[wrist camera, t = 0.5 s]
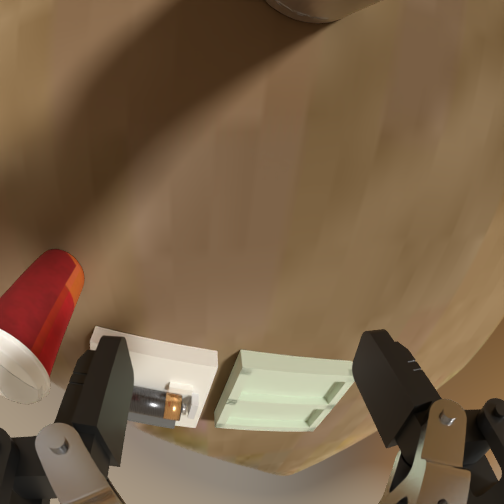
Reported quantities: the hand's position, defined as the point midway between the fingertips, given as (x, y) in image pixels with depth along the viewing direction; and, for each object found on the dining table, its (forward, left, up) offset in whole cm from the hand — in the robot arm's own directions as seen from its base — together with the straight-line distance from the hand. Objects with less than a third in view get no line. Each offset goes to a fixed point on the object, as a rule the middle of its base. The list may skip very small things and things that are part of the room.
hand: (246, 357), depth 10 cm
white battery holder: (+25, -3, -18) cm, 31 cm away
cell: (+25, -3, -16) cm, 30 cm away
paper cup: (+12, -14, -18) cm, 26 cm away
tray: (+24, +14, -18) cm, 33 cm away
